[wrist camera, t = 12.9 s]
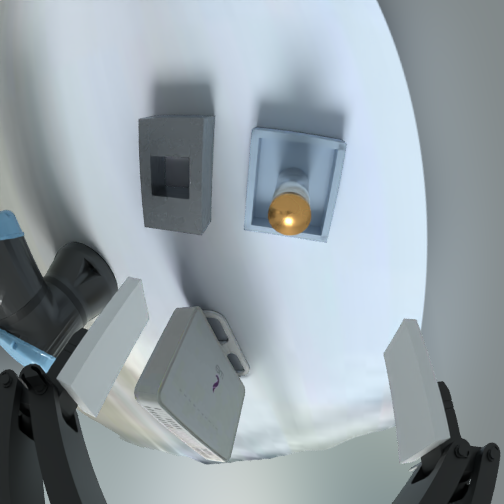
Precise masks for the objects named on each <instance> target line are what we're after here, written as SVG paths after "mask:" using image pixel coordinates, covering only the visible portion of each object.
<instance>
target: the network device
mask: <svg viewBox="0 0 504 504" xmlns="http://www.w3.org/2000/svg"><path fill="white" fill-rule="evenodd" d="M206 318H216V319H218V320H219V321H220V323H221V325H222V327H223V329H224V331H225V333H226V335H227V337H228V339H229V340H227V341H218V339H217V337H216V336H215V334H214V332H213V330H212V328H211V326H210V324H209V322H208V321H207V319H206ZM230 353H232V354H235V355H237V356H238V358H239V360H240V362H241V364H242V366H243V368H244V369H245V370H242V371H235V370H234V368H233V366H232V364H231V363H230V361H229V359H228V357H227V355H228V354H230ZM249 369H250V367H249V365H248V363H247V361H246V359H245V357H244V355H243V353H242V351H241V349H240V347H239V345H238V343H237V341H236V339H235V337H234V335H233V333H232V331H231V329H230V327H229V324H228V322H227V320H226V319H225V318H224V317H223V316H222V315H221V314H219V313H217V312H215V311H211V310H202V309H201V308H200V307H199V306H194V307H183V308H176V309H175V311H174V312H173V314H172V316H171V318H170V320H169V322H168V324H167V326H166V328H165V329H164V331H163V333H162V335H161V337H160V339H159V341H158V343H157V345H156V347H155V349H154V351H153V353H152V355H151V357H150V358H149V360H148V362H147V364H146V366H145V368H144V370H143V372H142V374H141V376H140V378H139V380H138V382H137V384H136V387H135V391H134V394H135V399H136V401H137V402H138V403H139V404H140V405H141V406H142V407H143V408H144V409H145V410H146V411H147V412H149V413H150V414H151V415H152V416H153V417H154V418H155V419H156V420H158V421H159V422H160V423H161V424H162V425H163V426H165V427H166V428H167V429H168V430H169V431H170V432H172V433H173V434H174V435H175V436H177V437H178V438H179V439H180V440H182V441H183V442H184V443H186V444H187V445H188V446H189V447H191V448H192V449H193V450H195V451H196V452H197V453H199V454H200V455H202V456H203V457H204V458H206V459H207V460H213V461H220V462H228V461H229V460H230V457H231V453H232V449H233V445H234V440H235V436H236V432H237V427H238V423H239V418H240V414H241V409H242V405H243V400H244V396H245V387H244V385H243V383H242V382H241V380H240V378H239V376H245V375H247V374H248V373H249Z"/></svg>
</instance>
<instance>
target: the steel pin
mask: <svg viewBox="0 0 504 504" xmlns="http://www.w3.org/2000/svg"><path fill="white" fill-rule="evenodd" d="M268 220H269V223H270V225H271V226H272V228H273V229H274V230H276V231H277V232H279V233H281V234H283V235H297V234H300V233H301V232H303V231H304V230H305V229H306V228H307V227H308V226H309V224H310V221H311V208H310V198H309V185H308V178H307V176H306V174H305V173H304V172H303V171H302V170H300V169H298V168H287V169H285V170H283V171H282V172H281V173H280V175H279V177H278V181H277V184H276V188H275V191H274V195H273V198H272V202H271V204H270V207H269V210H268Z"/></svg>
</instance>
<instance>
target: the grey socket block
mask: <svg viewBox="0 0 504 504" xmlns="http://www.w3.org/2000/svg"><path fill="white" fill-rule="evenodd" d="M214 121H215V116H204V115H160V116H151V117H146V118H141V119H139V160H140V179H141V193H142V205H143V216H144V225H145V227H149V228H156V229H163V230H170V231H177V232H183V233H190V234H197V235H202V234H203V232H204V231H205V229H206V228H207V227H208V225H209V224H210V222H211V197H212V164H213V141H214ZM165 157H185V158H189V187H179V186H168V185H166V178H165Z"/></svg>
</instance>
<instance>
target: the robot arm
mask: <svg viewBox="0 0 504 504" xmlns="http://www.w3.org/2000/svg"><path fill="white" fill-rule="evenodd" d="M99 314H100V315H99ZM98 315H99V316H98ZM96 316H98V317H97V319H96V320H95V322H94V323H93V324H92V326H91V327H90V329H89V330H87V329H84V328H83V327H84V326H85V325H86V323H87V322H88V321H90V320H91V319H93V318H95V317H96ZM148 320H149V314H148V310H147V305H146V300H145V296H144V291H143V286H142V280H141V279H137V278H132V277H128V278H127V279H126V281H125V282H124V283H123V284H122V286H121V287H120V288H119V290H117V284H116V280H115V278H114V276H113V273H112V272H111V270H110V268H109V267H108V265H107V264H106V263H105V261H104V260H103V259H102V258H101V257H100V256H99V255H98V254H97V253H96V252H95V251H93V250H92V249H91V248H89V247H87V246H86V245H83V244H81V243H77V242H71V243H68V244H66V245H65V246H64V247H63V248H61V249H60V250H59V251H58V252H57V254H56V256H55V258H54V261H53V262H52V264H51V266H50V268H49V269H48V271H47V273H46V275H45V276H44V277H42V275H41V273H40V271H39V269H38V267H37V265H36V262H35V260H34V258H33V256H32V254H31V252H30V249H29V247H28V245H27V242H26V240H25V238H24V232H22V230H21V228H20V226H19V224H18V221H17V219H16V217H15V215H14V214H13V212H11V211H9V210H3V211H0V345H1V346H2V347H3V348H4V349H5V350H6V351H7V352H8V353H9V354H10V355H11V356H12V357H13V358H14V359H15V360H17V361H18V362H19V363H20V364H22V365H23V366H24V368H23V369H22V371H21V372H20V375H19V377H18V376H17V374H16V373H15V372H14V371H13V370H10V369H9V370H5V371H3V372H2V373H1V374H0V504H45V498H44V489H43V481H44V484H45V487H46V491H47V494H48V497H49V501H50V503H51V504H107V503H106V500H105V498H104V496H103V493H102V491H101V488H100V486H99V483H98V481H97V478H96V475H95V473H94V470H93V467H92V464H91V461H90V458H89V455H88V452H87V449H86V445H85V442H84V438H83V435H82V431H81V427H80V423H79V419H78V415H77V412H76V408H77V406H79V407H80V408H81V410H82V411H84V412H86V413H88V414H90V415H92V416H94V417H97V415H98V413H99V411H100V409H101V407H102V405H103V403H104V401H105V399H106V397H107V395H108V393H109V391H110V389H111V388H112V386H113V384H114V382H115V380H116V378H117V376H118V374H119V372H120V370H121V369H122V367H123V365H124V363H125V361H126V359H127V357H128V356H129V354H130V352H131V350H132V348H133V347H134V345H135V343H136V341H137V339H138V338H139V336H140V334H141V332H142V331H143V329H144V327H145V325H146V324H147V322H148ZM384 359H385V364H386V369H387V374H388V379H389V385H390V390H391V396H392V403H393V409H394V416H395V424H396V431H397V441H398V451H399V463H400V464H402V463H409V462H414V461H416V460H417V459H419V458H421V462H420V463H419V464H417V465H415V466H413V467H412V468H411V469H410V470H409V471H412V470H414V469H415V471H414V472H413V474H412V476H411V477H410V479H409V480H408V482H407V483H406V485H405V486H404V487H403V489H402V490H401V492H400V493H399V494H398V496H397V497H396V499H395V500H394V502H393V503H392V504H491V500H492V496H493V492H494V488H495V483H496V478H497V473H498V467H499V461H500V450H499V447H498V446H497V445H496V444H495V443H489V444H487V445H486V446H484V447H474V446H470V444H469V443H468V442H467V441H466V440H465V439H462V438H461V436H460V432H459V427H458V423H457V419H456V414H455V410H454V409H453V403H452V401H451V400H452V399H451V395H450V392H449V389H448V388H447V386H446V385H445V383H444V382H443V381H442V382H437V380H436V376H435V373H434V369H433V367H432V363H431V360H430V357H429V354H428V351H427V348H426V345H425V342H424V339H423V336H422V334H421V331H420V328H419V325H418V323H417V320H415V319H404V320H403V322H402V323H401V325H400V327H399V329H398V330H397V332H396V334H395V335H394V337H393V339H392V341H391V342H390V344H389V345H388V347H387V349H386V350H385V352H384ZM470 479H471V481H470ZM469 481H470V485H469Z"/></svg>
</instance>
